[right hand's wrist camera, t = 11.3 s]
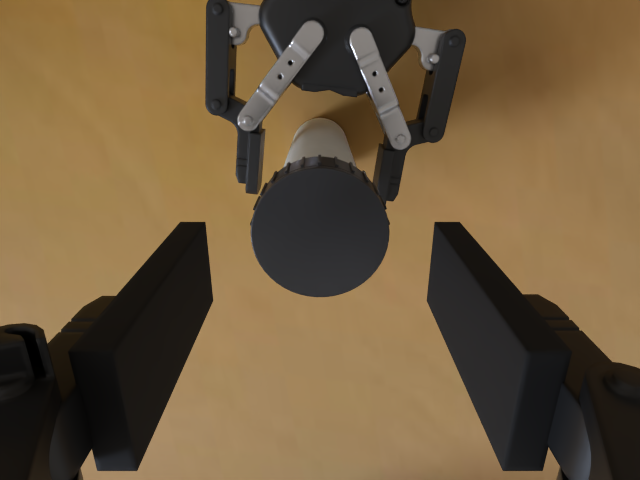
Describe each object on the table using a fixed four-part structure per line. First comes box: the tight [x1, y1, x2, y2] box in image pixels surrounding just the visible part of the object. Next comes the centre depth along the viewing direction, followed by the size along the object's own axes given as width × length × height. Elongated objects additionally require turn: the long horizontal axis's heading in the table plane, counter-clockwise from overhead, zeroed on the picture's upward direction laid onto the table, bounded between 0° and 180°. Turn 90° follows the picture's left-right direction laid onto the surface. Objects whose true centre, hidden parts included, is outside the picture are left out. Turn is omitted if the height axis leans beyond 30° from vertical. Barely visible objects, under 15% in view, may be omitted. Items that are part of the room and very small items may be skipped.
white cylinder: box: [283, 118, 357, 168], centre depth 25 cm, size 4×4×18 cm
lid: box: [250, 155, 390, 297], centre depth 17 cm, size 5×5×2 cm
